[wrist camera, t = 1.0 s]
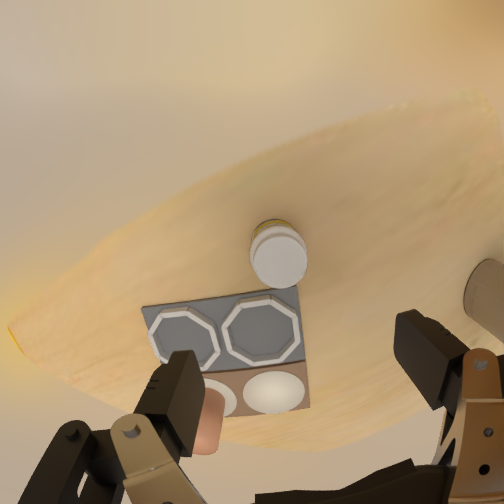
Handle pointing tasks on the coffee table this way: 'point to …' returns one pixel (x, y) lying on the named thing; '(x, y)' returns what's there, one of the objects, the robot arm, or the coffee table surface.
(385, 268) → the coffee table surface
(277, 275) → the supplement bottle
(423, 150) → the coffee table surface
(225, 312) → the board
